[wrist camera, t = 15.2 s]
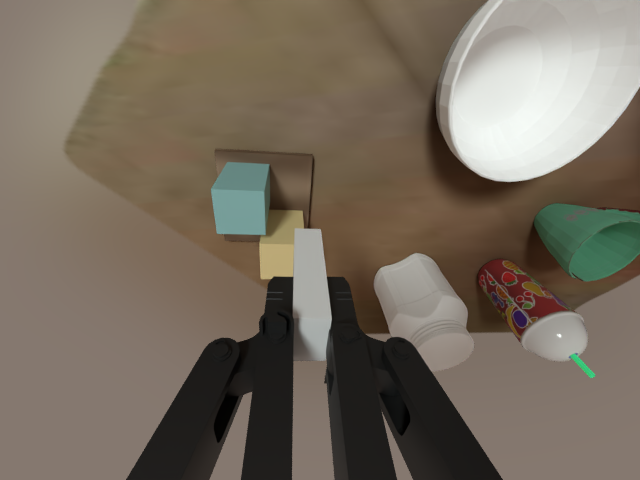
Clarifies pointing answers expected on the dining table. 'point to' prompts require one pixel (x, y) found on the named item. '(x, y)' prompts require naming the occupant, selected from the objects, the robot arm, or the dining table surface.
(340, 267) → the dining table surface
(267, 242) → the pale yellow block
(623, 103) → the bowl
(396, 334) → the jar
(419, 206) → the dining table surface
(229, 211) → the teal rectangular block
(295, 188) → the board
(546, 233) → the mug
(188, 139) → the dining table surface
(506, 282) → the smoothie
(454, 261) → the dining table surface
